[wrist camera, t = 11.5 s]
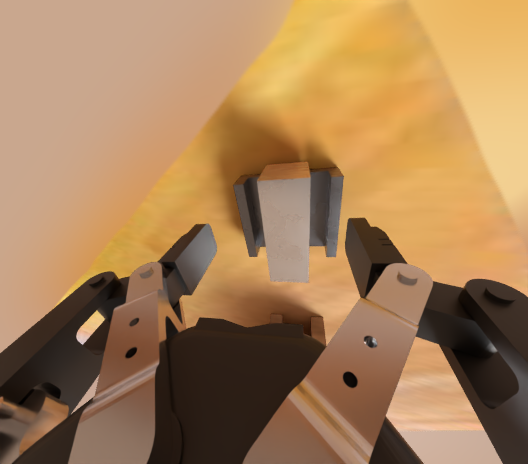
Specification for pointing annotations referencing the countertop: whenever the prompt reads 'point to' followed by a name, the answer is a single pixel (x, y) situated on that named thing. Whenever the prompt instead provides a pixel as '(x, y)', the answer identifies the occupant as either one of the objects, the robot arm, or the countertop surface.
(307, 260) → the shiny metal block
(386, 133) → the countertop surface
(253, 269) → the countertop surface
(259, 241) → the grey channel block
